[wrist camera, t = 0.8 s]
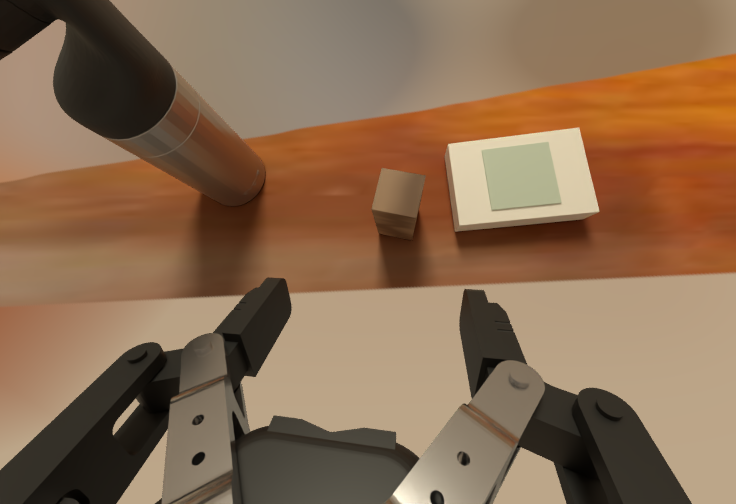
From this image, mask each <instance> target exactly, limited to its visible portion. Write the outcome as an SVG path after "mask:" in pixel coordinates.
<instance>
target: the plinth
mask: <svg viewBox="0 0 736 504" xmlns="http://www.w3.org/2000/svg"><path fill="white" fill-rule="evenodd" d="M445 163H446V170H447V178H448V185H449V192H450V200H451V207H452V214H453V221H454V229H455V232H457V231H467V230H478V229H488V228H498V227H509V226H519V225H529V224H540V223H550V222H560V221H571V220H581V219H585V218H587V217H589V216H591V215H593V214H595V213H598V212H599V208H598V204H597V200H596V196H595V191H594V187H593V183H592V179H591V175H590V171H589V167H588V163H587V159H586V154H585V150H584V146H583V142H582V138H581V134H580V130H579V128H572V129H564V130H557V131H549V132H541V133H533V134H525V135H517V136H509V137H501V138H493V139H485V140H477V141H469V142H461V143H453V144H448V146H447V150H446V153H445Z"/></svg>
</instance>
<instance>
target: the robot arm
mask: <svg viewBox="0 0 736 504" xmlns="http://www.w3.org/2000/svg"><path fill="white" fill-rule="evenodd" d="M57 19H60V20H63V21H64V22H66V35H65V40H64V44H63V47H62V50H61V52H60V55H59V58H58V61H57V63H56V66H55V71H54V77H53V87H54V93H55V96H56V99H57V101H58V103H59V105H60V106H61V108H62V109H63V110H64V111H65V113H66V114H67V115H69V116H70V117H71V118H72V119H73V120H75V121H76V122H78V123H79V124H81V125H83V126H84V127H86V128H88V129H90V130H91V131H93V132H95V133H97V134H99V135H101V136H102V137H104V138H106V139H107V140H109V141H111V142H113V143H115V144H116V145H118V146H120V147H121V148H123V149H125V150H127V151H129V152H130V153H133V154H134V155H136V156H138V157H139V158H141V159H143V160H145V161H146V162H148V163H150V164H152V165H153V166H155V167H157V168H159V169H161V170H162V171H164V172H166V173H168V174H169V175H171V176H173V177H175V178H176V179H178V180H180V181H182V182H183V183H185V184H187V185H189V186H191V187H192V188H194V189H196V190H198V191H199V192H201V193H203V194H204V195H206V196H208V197H210V198H212V199H213V200H215V201H217V202H219V203H221V204H223V205H226V206H238V205H242V204H245V203H247V202H248V201H250V200H252V199H253V198H254V197H255V196H256V195H257V194H258V192H259V191H260V190H261V188H262V186H263V183H264V179H265V169H264V165H263V163H262V161H261V159H260V158H259V157H258V156H257V155H256V154H255V152H254V151H253V150H252V149H251V148H250V147H249V146H248V145H247V144H246V143H245V142H244V141H243V140H242V139H241V138H240V137H239V135H238V134H237V133H235V131H234V130H233V129H232V128H231V127H230V126H229V125H228V124H227V123H226V122H225V121H224V120H223V119H222V118H221V117H220V116H219V115H218V114H217V112H216V111H215V110H214V109H213V108H212V107H211V106H210V105H209V104H208V103H207V102H206V101H205V100H204V99H203V98H202V97H201V96H200V95H199V94H198V93H197V92H196V91H195V89H194V88H193V87H192V86H191V85H190V84H189V83H188V82H187V81H186V80H185V79H184V78H183V77H182V76H181V75H180V74H179V73H178V72H177V71H176V70H175V69H174V68H173V67H172V66H171V65H170V63H169V62H168V61H167V60H166V59H165V58H164V57H163V56H162V55H161V54H160V53H159V52H158V51H157V50H156V49H155V48H154V47H153V46H152V45H151V44H150V43H149V41H147V39H146V38H145V37H144V36H143V35H142V34H141V33H140V32H139V31H138V30H137V29H136V28H135V27H134V26H133V25H132V24H131V23H130V22H129V21H128V20H127V19H126V18H125V17H124V16H123V15H122V13H121V12H120V11H119V10H118V9H117V8H116V7H115V6H114V5H113V4H112V3H111V2H110V1H109V0H0V60H1V59H2V58H4V57H6V56H7V55H9V54H10V53H12V52H13V51H14V50H16V49H17V48H19V47H20V46H21V45H22V44H24V43H25V42H27V41H28V40H29V39H31V38H32V37H34V36H35V35H36V34H38V33H39V32H40V31H42V30H43V29H44V28H46V27H47V26H49V25H50V24H51V23H52V22H53V21H55V20H57ZM290 314H291V301H290V296H289V292H288V287H287V283H286V280H285V279H284V278H266V279H265V281H264V282H263V283H262V284H261V286H260V287H259V288H255V289H253V290H252V291H250V292H249V293H247V294H246V295H245V296H244V297H243V298H242V299H241V301H240V302H239V304H237V305H236V307H235V308H234V310H232V311H231V312H230V313H229V315H228V316H227V317H226V318H225V319H224V320H223V322H222V323H221V324H220V325H219V326H218V327H217V329H216V330H215V331H214V332H213V333H209V334H204V335H201V336H199V337H197V338H195V339H193V340H192V341H190V342H189V343H188V344H187V345H186V346H185V348H184V349H179V350H173V351H167V352H163V350H162V348H161V346H160V345H159V344H158V343H154V342H150V343H144V344H141V345H138V346H136V347H134V348H132V349H130V350H128V351H127V352H125V353H124V354H123V355H122V356H121V357H119V358H118V360H116V361H115V362H114V363H113V364H112V365H111V366H110V367H109V368H108V369H107V370H106V371H105V372H104V373H103V374H102V375H101V376H99V377H98V378H97V379H96V380H95V381H94V382H93V383H92V384H91V385H90V386H89V387H88V388H87V389H86V390H85V391H84V392H82V394H80V395H79V396H78V397H77V398H76V399H75V400H74V401H73V402H72V403H71V404H70V405H69V406H68V407H67V408H66V409H64V410H63V411H62V412H61V413H60V414H59V415H58V416H57V417H56V418H55V419H54V420H53V421H52V422H51V423H50V424H49V425H48V426H47V427H45V428H44V429H43V430H42V431H41V432H40V433H39V434H38V435H37V436H36V437H35V438H34V439H33V440H32V441H31V442H30V443H29V444H27V445H26V446H25V447H24V448H23V449H22V450H21V451H20V452H19V453H18V454H17V455H16V456H15V457H14V458H13V459H12V460H11V461H10V462H8V463H7V464H6V465H5V466H4V467H3V468H2V469H1V470H0V504H116V503H117V502H118V500H119V499H120V498H121V496H122V495H123V493H124V492H125V490H126V489H127V487H128V486H129V484H130V483H131V481H132V480H133V479H134V477H135V476H136V474H137V473H138V471H139V470H140V468H141V467H142V466H143V464H144V463H145V461H146V460H147V458H148V457H149V455H150V453H151V452H152V451H153V450H154V448H155V447H156V445H157V444H158V442H159V441H160V439H161V438H162V436H163V435H164V433H165V432H166V430H167V429H168V437H167V447H166V458H165V470H164V481H163V493H162V499H160V500H159V501H158V502H157V503H155V504H493V501H494V499H495V497H496V495H497V493H498V491H499V489H500V487H501V485H502V483H503V481H504V479H505V477H506V475H507V473H508V471H509V469H510V467H511V466H512V464H513V462H514V460H515V458H516V456H517V454H518V452H519V450H520V448H521V447H522V448H524V449H526V450H529V451H531V452H533V453H535V454H537V455H540V456H542V457H544V458H546V459H548V460H551V461H553V462H554V465H555V467H556V471H557V474H558V477H559V480H560V484H561V487H562V490H563V493H564V496H565V500H566V503H567V504H692V503H691V501H690V500H689V498H688V496H687V495H686V493H685V492H684V490H683V488H682V487H681V485H680V484H679V482H678V480H677V479H676V477H675V475H674V474H673V472H672V471H671V469H670V467H669V466H668V464H667V462H666V461H665V459H664V458H663V456H662V454H661V453H660V451H659V449H658V448H657V446H656V445H655V443H654V441H653V440H652V438H651V436H650V435H649V433H648V432H647V430H646V429H645V427H644V425H643V423H642V422H641V420H640V419H639V417H638V415H637V414H636V413H635V411H634V410H633V409H632V408H631V407H630V406H629V405H628V404H627V403H626V402H625V401H623V400H622V399H621V398H619V397H618V396H616V395H614V394H612V393H610V392H608V391H605V390H602V389H597V388H586V389H583V390H581V391H580V392H579V394H578V395H575V394H573V393H570V392H567V391H564V390H561V389H558V388H556V387H553V386H551V385H549V384H547V383H545V382H544V381H543V380H542V378H541V376H540V375H539V374H538V373H537V372H536V371H535V370H534V369H533V368H531V367H530V366H528V365H527V363H526V360H525V358H524V356H523V353H522V351H521V348H520V345H519V343H518V340H517V338H516V335H515V333H514V332H513V328H512V326H511V324H510V321H509V318H508V316H507V313H506V312H505V311H504V310H503V309H502V308H501V307H500V305H499V304H497V303H488V300H487V297H486V295H485V292H484V290H472V289H465V290H464V293H463V300H462V306H461V313H460V334H461V340H462V345H463V352H464V357H465V363H466V369H467V374H468V380H469V386H470V391H471V397H472V400H471V401H470V403H469V404H468V405H466V404H462V405H461V406H460V407H459V408H458V410H457V411H456V412H455V413H454V415H453V416H452V417H451V419H450V420H449V421H448V422H447V424H446V425H445V427H444V428H443V429H442V430H441V432H440V433H439V434H438V436H437V437H436V438H435V440H434V441H433V442H432V443H431V445H430V446H429V447H428V449H427V450H426V451H425V453H424V454H423V455H422V457H421V458H419V457H418V456H417V455H415V454H414V453H413V452H412V451H410V450H409V449H407V448H405V447H404V446H402V445H400V444H398V443H396V432H391V431H384V430H377V429H369V428H360V429H352V430H345V431H337V432H329V431H326V430H324V429H322V428H320V427H317V426H316V425H313V424H311V423H309V422H307V421H304V420H302V419H296V418H289V417H281V416H273V418H272V421H271V423H270V425H269V426H266V427H262V428H259V429H256V430H253V431H251V432H250V429H249V424H248V419H247V414H246V406H245V400H244V394H243V388H242V384H241V380H242V379H243V377H244V376H252V377H256V375H257V373H258V371H259V370H260V368H261V366H262V364H263V363H264V361H265V359H266V357H267V355H268V354H269V352H270V350H271V349H272V347H273V345H274V344H275V342H276V340H277V338H278V337H279V335H280V333H281V331H282V329H283V328H284V326H285V324H286V323H287V321H288V319H289V317H290ZM135 398H136V399H137V400H138V402H139V403H140V404H139V406H138V407H137V408H136V409H135V410H134V412H133V413H132V414H131V415H130V416H129V418H128V419H127V420H126V421H125V423H124V424H123V425H122V426H121V427H120V428H119V430H118V431H117V432H116V433H115V434H114V436H113V434H112V430H113V427H114V424H115V422H116V421H117V419H118V418H119V417H120V416H121V414H122V413H123V412H124V411H125V410H126V409H127V408H128V406H129V405H130V404H131V403H132V402H133V400H134V399H135Z"/></svg>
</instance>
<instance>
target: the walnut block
mask: <svg viewBox="0 0 736 504" xmlns="http://www.w3.org/2000/svg"><path fill="white" fill-rule="evenodd" d="M425 177H426V176H425V175H419V174H413V173H408V172H402V171H396V170H391V169H385V168H382V170H381V173H380V177H379V181H378V185H377V189H376V193H375V197H374V201H373V205H372V212H373V216H374V219H375V223H376V226H377V230H378V233H379V234H383V235H388V236H393V237H398V238H402V239H407V240H412V238H413V233H414V229H415V224H416V220H417V215H418V211H419V206H420V201H421V196H422V191H423V186H424V181H425Z"/></svg>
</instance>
